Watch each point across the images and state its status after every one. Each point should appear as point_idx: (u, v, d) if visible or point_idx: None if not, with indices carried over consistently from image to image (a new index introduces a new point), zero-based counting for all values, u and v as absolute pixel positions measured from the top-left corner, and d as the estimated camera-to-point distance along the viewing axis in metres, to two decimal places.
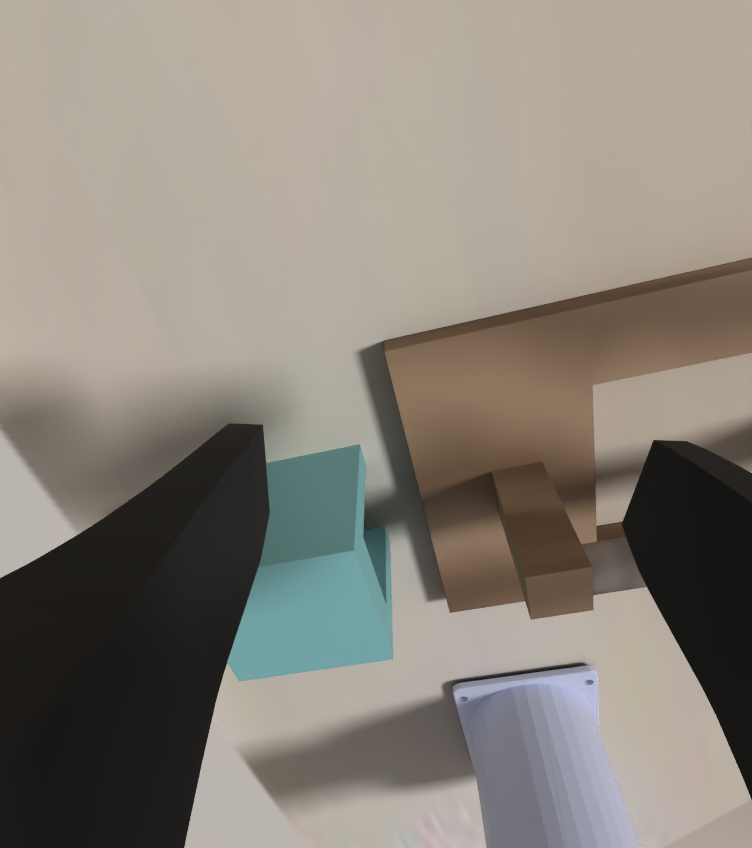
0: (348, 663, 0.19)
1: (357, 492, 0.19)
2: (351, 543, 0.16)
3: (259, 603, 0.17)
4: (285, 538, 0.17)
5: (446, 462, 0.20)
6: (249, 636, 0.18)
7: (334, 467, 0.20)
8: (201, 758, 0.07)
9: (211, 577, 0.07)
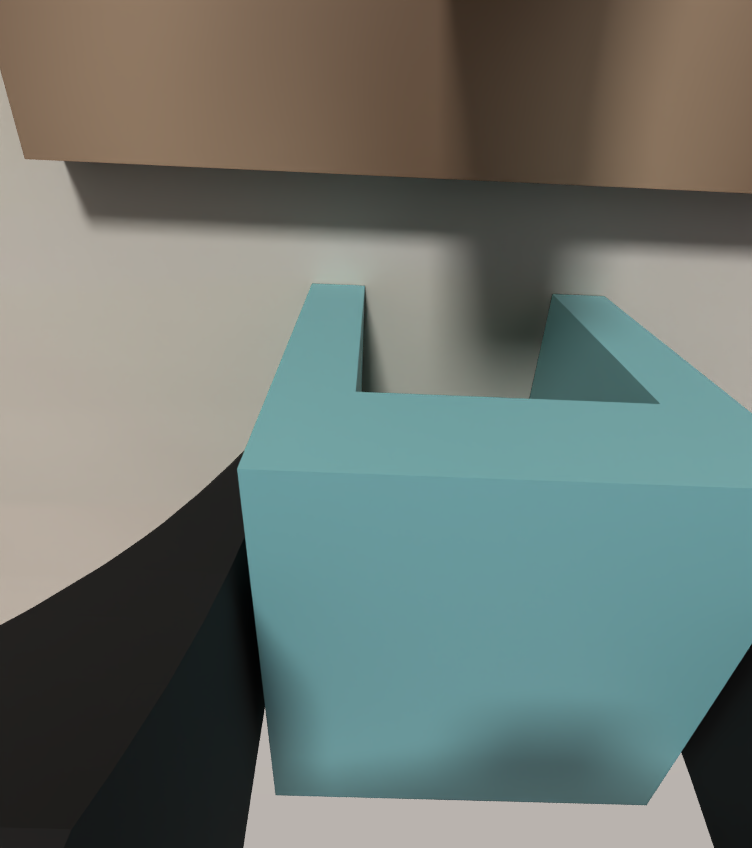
0: None
1: (291, 345, 0.07)
2: (245, 457, 0.05)
3: (393, 710, 0.07)
4: None
5: (366, 71, 0.07)
6: (502, 754, 0.07)
7: None
8: (255, 759, 0.07)
9: None
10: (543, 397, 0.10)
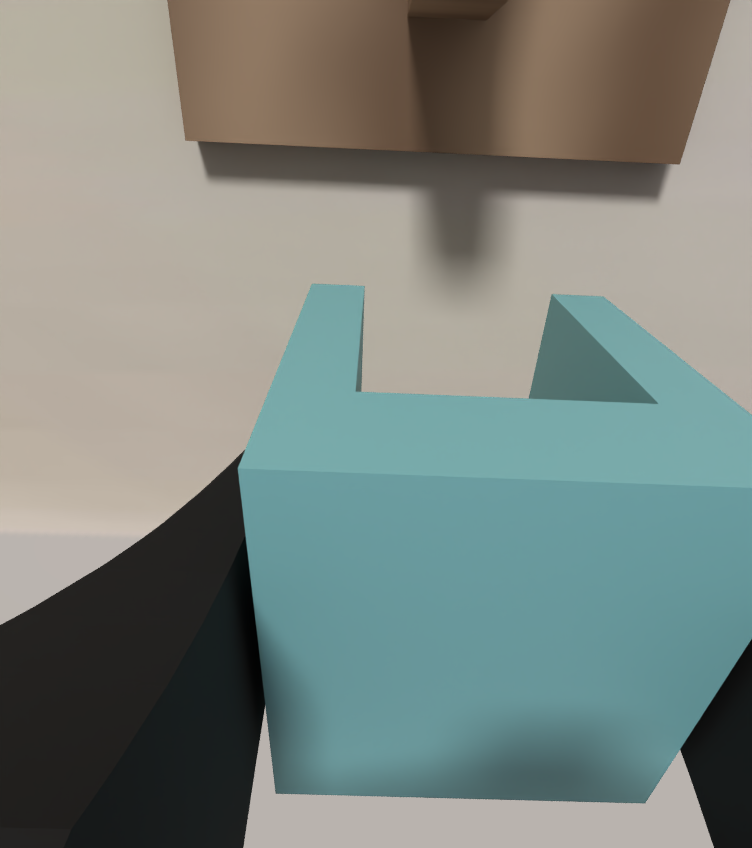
0: None
1: (292, 345, 0.07)
2: None
3: (393, 708, 0.07)
4: None
5: (371, 93, 0.14)
6: (501, 753, 0.07)
7: None
8: (255, 760, 0.07)
9: None
10: (542, 396, 0.10)
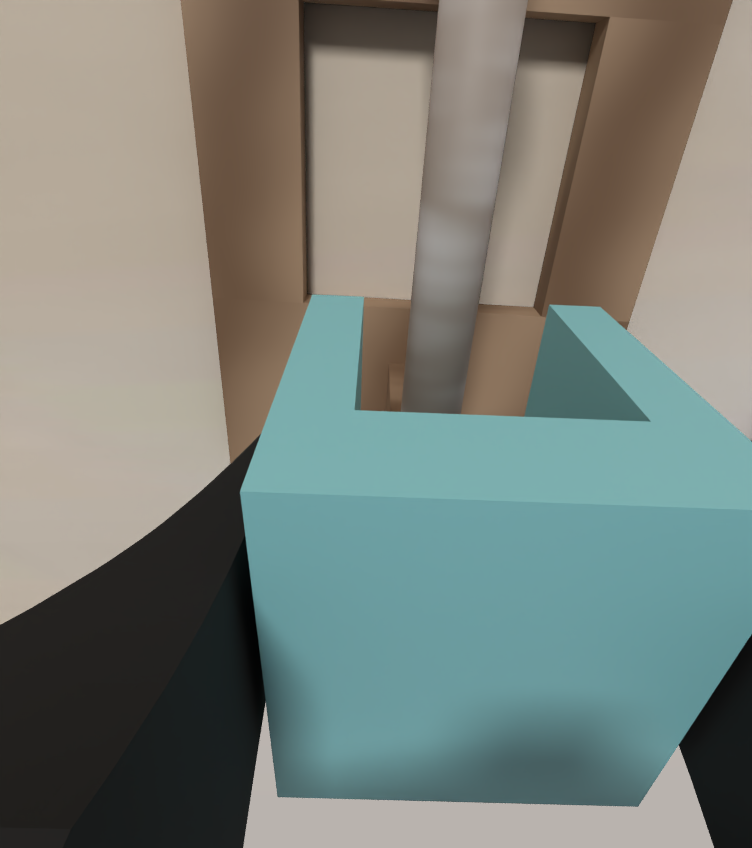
0: (744, 625, 0.06)
1: (292, 361, 0.07)
2: (247, 478, 0.05)
3: (392, 716, 0.07)
4: None
5: None
6: (497, 758, 0.07)
7: None
8: (255, 759, 0.07)
9: None
10: (539, 405, 0.10)
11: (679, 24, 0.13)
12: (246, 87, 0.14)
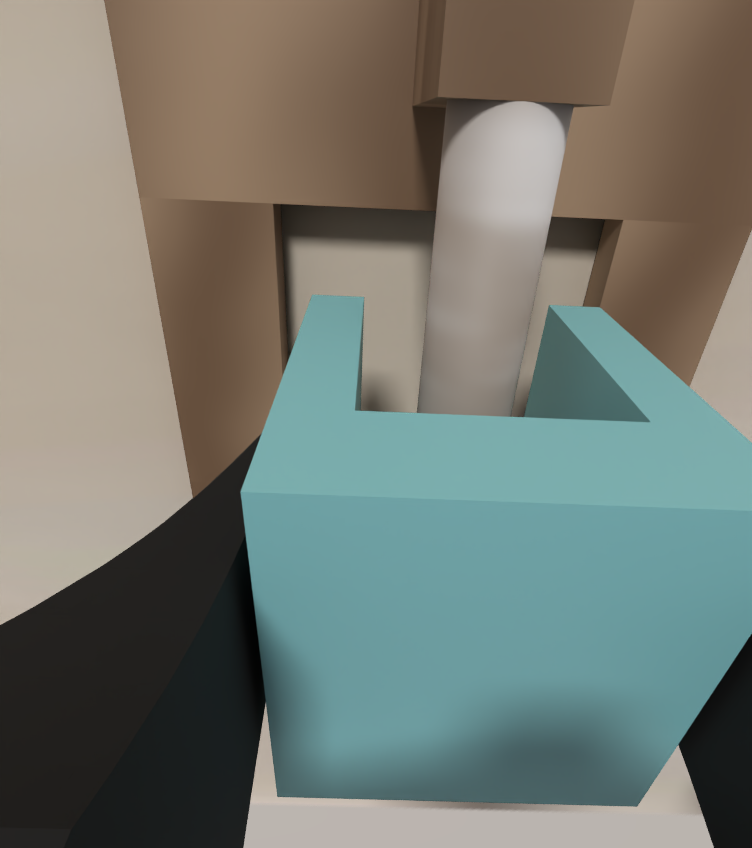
0: (743, 624, 0.06)
1: (292, 361, 0.07)
2: (248, 478, 0.05)
3: (391, 716, 0.07)
4: None
5: None
6: (497, 759, 0.07)
7: None
8: (255, 759, 0.07)
9: None
10: (540, 406, 0.10)
11: (701, 226, 0.12)
12: (218, 290, 0.13)
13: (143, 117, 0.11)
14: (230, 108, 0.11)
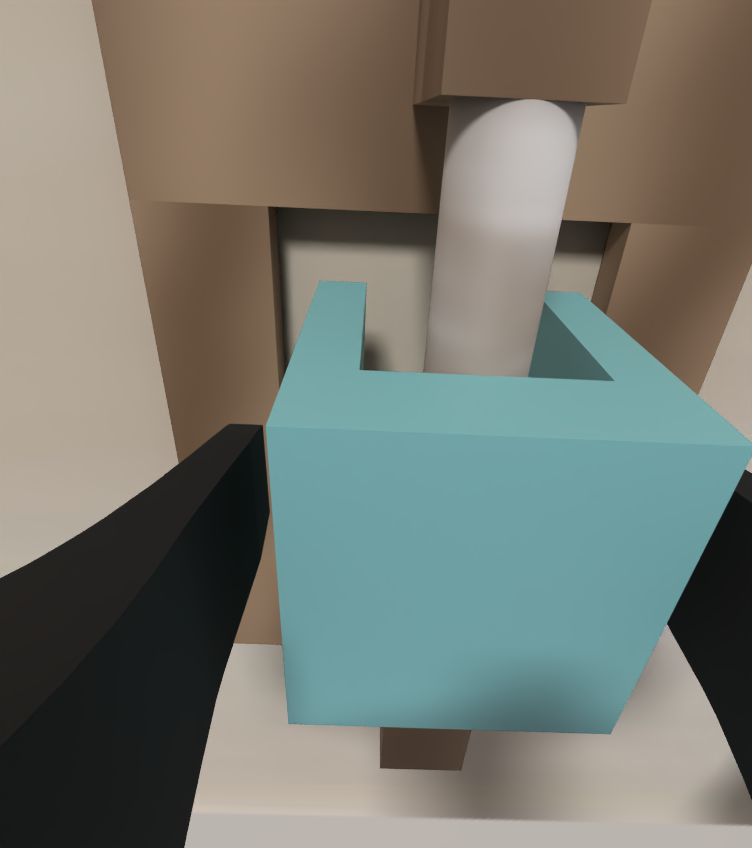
0: (691, 552, 0.07)
1: (304, 333, 0.08)
2: None
3: (390, 641, 0.08)
4: None
5: None
6: (483, 684, 0.08)
7: None
8: (201, 758, 0.07)
9: (211, 577, 0.07)
10: None
11: (712, 229, 0.11)
12: (212, 296, 0.12)
13: (132, 117, 0.10)
14: (223, 107, 0.10)
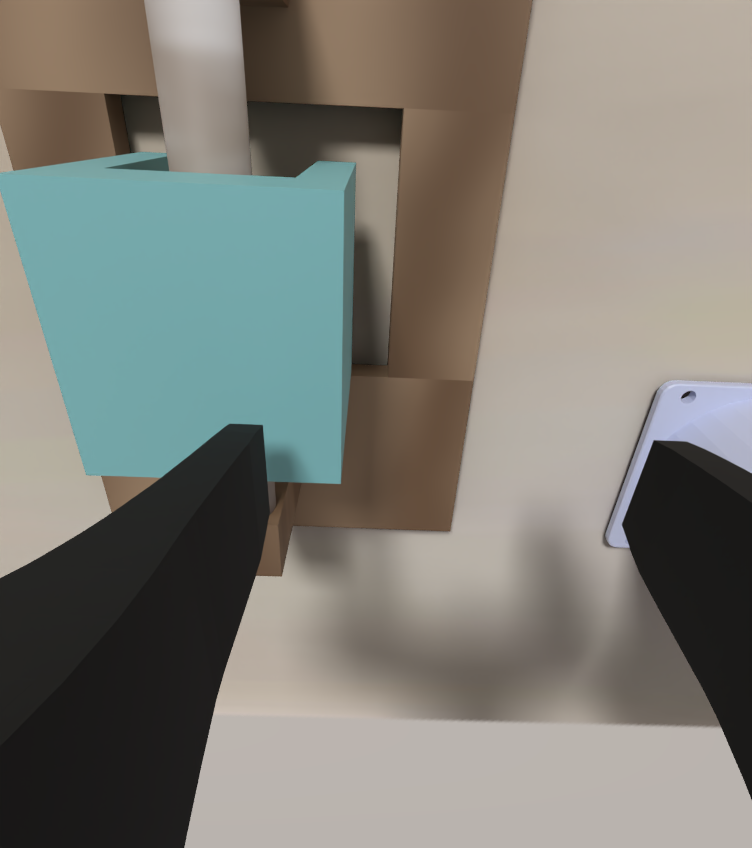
0: (334, 290, 0.09)
1: (87, 161, 0.11)
2: None
3: (141, 383, 0.10)
4: None
5: None
6: None
7: None
8: (201, 758, 0.07)
9: (211, 577, 0.07)
10: None
11: (471, 114, 0.14)
12: None
13: None
14: (56, 5, 0.13)
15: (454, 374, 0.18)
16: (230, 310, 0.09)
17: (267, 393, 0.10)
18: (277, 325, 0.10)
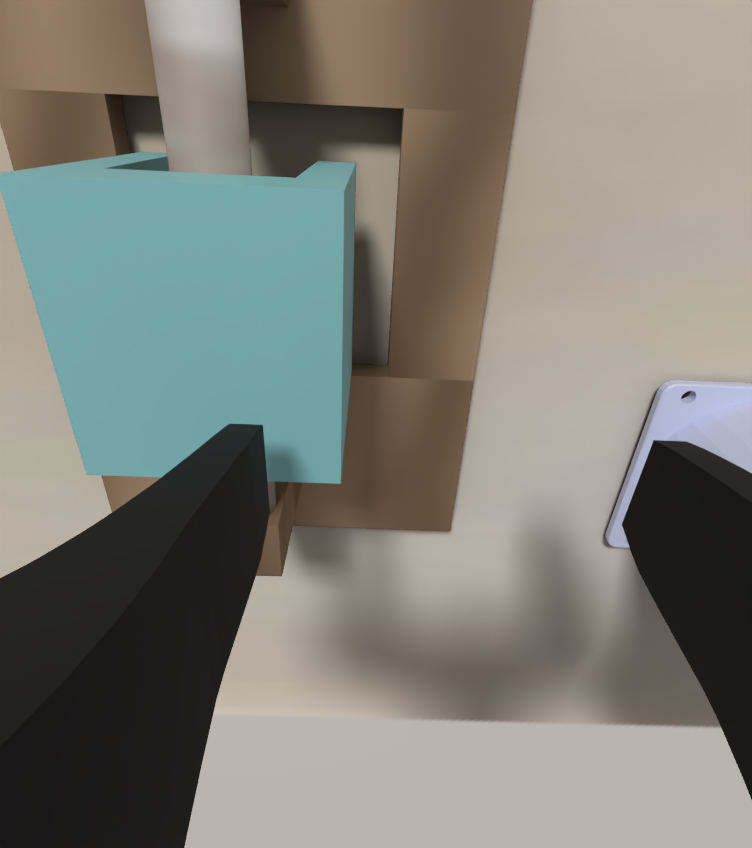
0: (334, 291, 0.09)
1: (87, 161, 0.11)
2: None
3: (141, 383, 0.10)
4: None
5: None
6: None
7: None
8: (201, 758, 0.07)
9: (211, 577, 0.07)
10: None
11: (471, 114, 0.14)
12: None
13: None
14: (56, 5, 0.13)
15: (454, 374, 0.18)
16: (230, 310, 0.09)
17: (267, 393, 0.10)
18: (277, 325, 0.10)
